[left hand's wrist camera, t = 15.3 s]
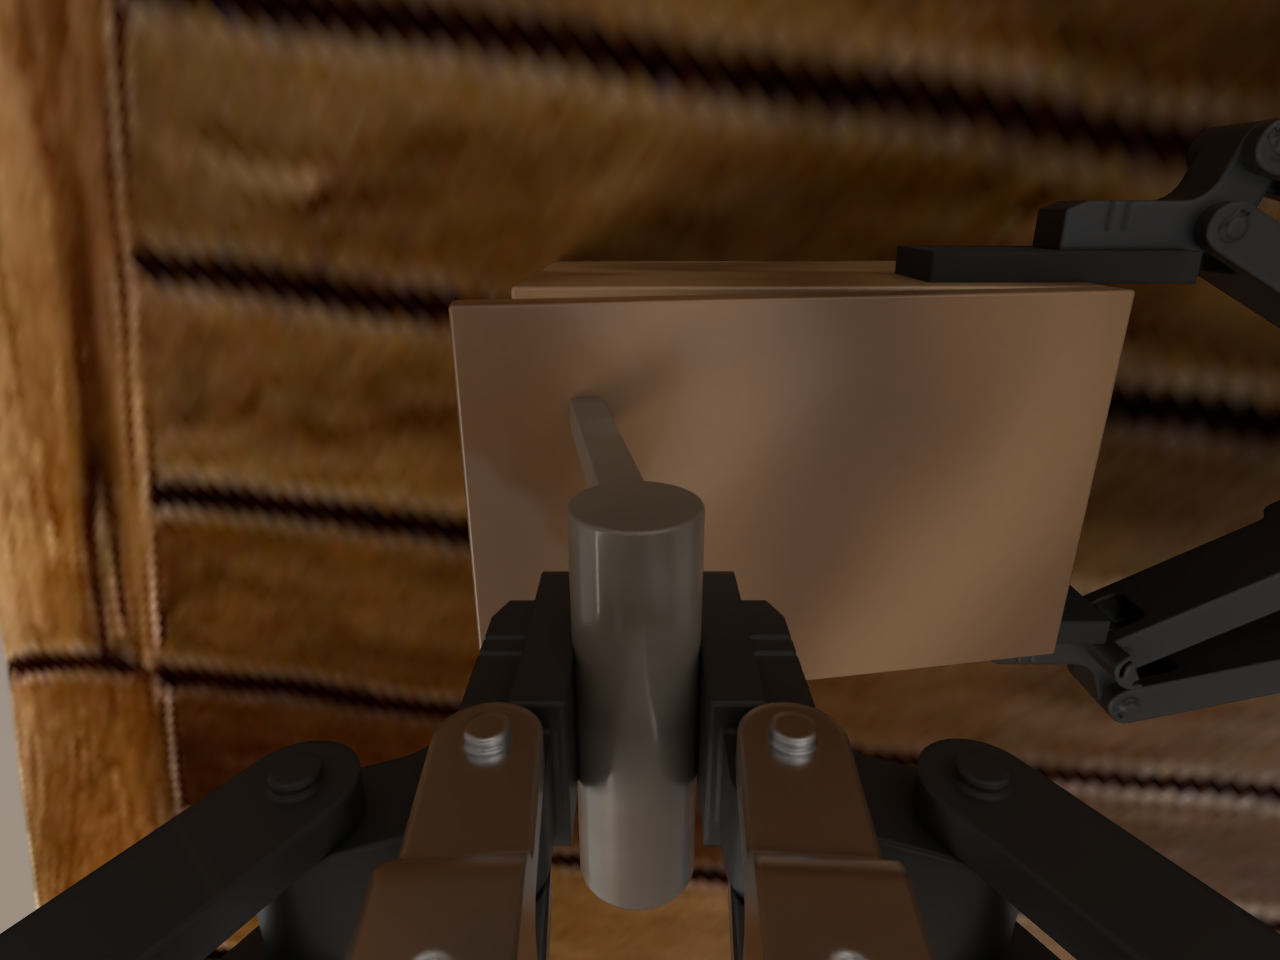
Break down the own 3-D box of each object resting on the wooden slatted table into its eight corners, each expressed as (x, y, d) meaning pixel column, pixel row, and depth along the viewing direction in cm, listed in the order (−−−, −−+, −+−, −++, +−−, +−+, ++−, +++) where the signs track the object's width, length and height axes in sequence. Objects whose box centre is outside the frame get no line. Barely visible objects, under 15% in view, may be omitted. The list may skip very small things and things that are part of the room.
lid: (485, 694, 18) (471, 1027, 11) (450, 299, 15) (396, 391, 8) (1033, 637, 21) (1330, 879, 13) (1108, 285, 17) (1559, 345, 10)
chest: (563, 514, 29) (531, 634, 21) (553, 260, 26) (510, 285, 18) (926, 515, 29) (1036, 636, 21) (963, 260, 26) (1110, 285, 17)
